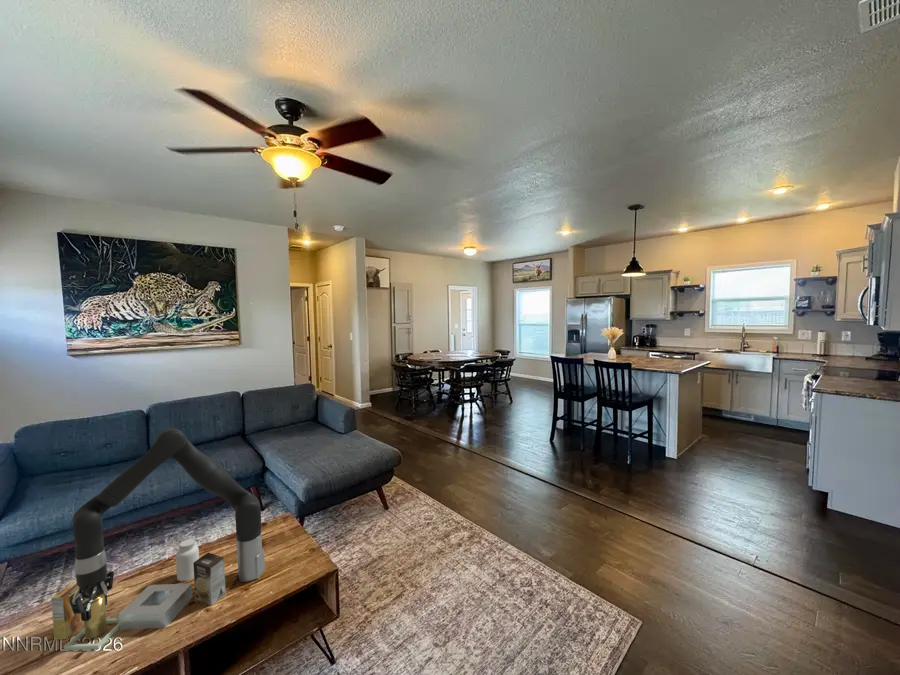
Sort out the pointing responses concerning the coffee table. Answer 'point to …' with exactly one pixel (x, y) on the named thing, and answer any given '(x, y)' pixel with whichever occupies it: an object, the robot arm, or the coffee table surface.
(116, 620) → the tray
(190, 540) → the pill bottle
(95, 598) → the gold shiny round cylinder
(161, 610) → the housing
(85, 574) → the robot arm
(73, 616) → the candy box
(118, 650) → the coffee table surface
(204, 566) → the coffee box
